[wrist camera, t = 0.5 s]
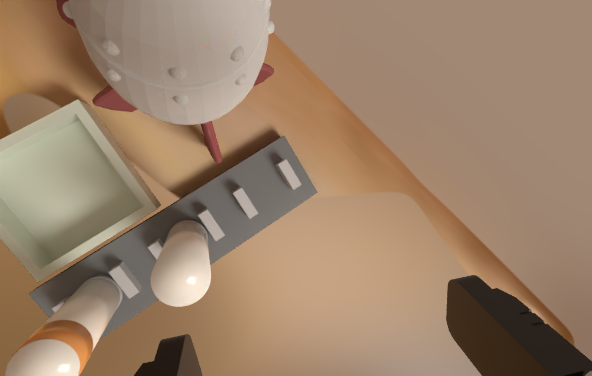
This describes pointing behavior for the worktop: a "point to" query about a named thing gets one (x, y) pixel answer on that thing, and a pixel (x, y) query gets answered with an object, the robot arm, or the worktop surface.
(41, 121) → the tray
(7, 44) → the worktop surface
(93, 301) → the cylinder
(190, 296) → the cylinder
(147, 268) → the holder
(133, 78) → the toy
